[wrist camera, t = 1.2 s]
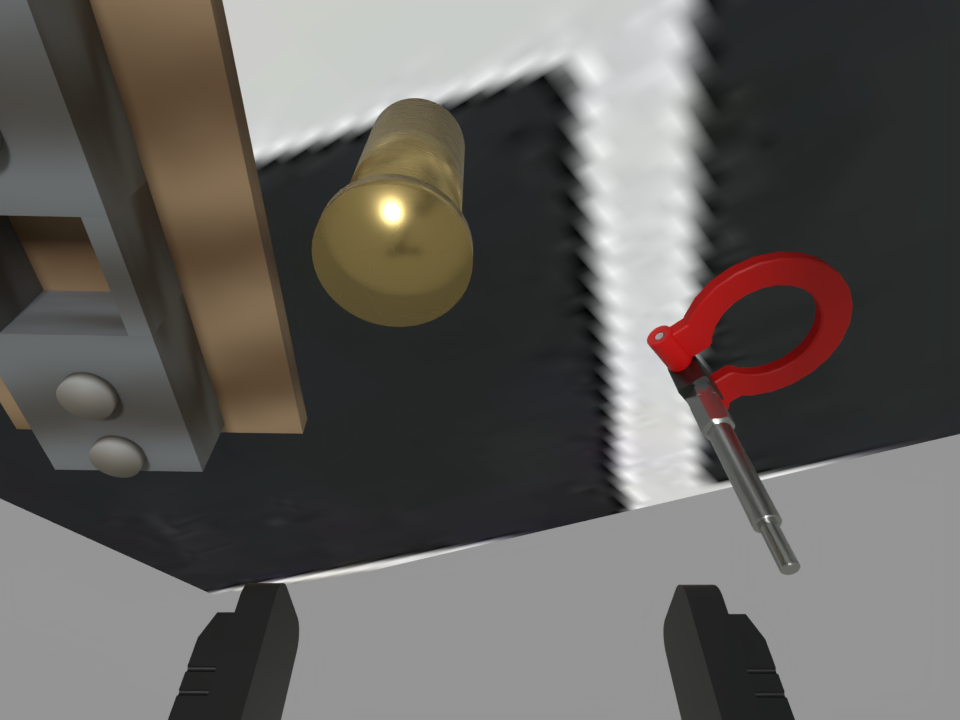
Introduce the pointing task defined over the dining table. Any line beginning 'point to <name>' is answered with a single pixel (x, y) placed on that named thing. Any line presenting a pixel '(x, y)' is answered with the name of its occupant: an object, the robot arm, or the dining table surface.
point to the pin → (399, 221)
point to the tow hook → (751, 368)
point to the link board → (134, 239)
